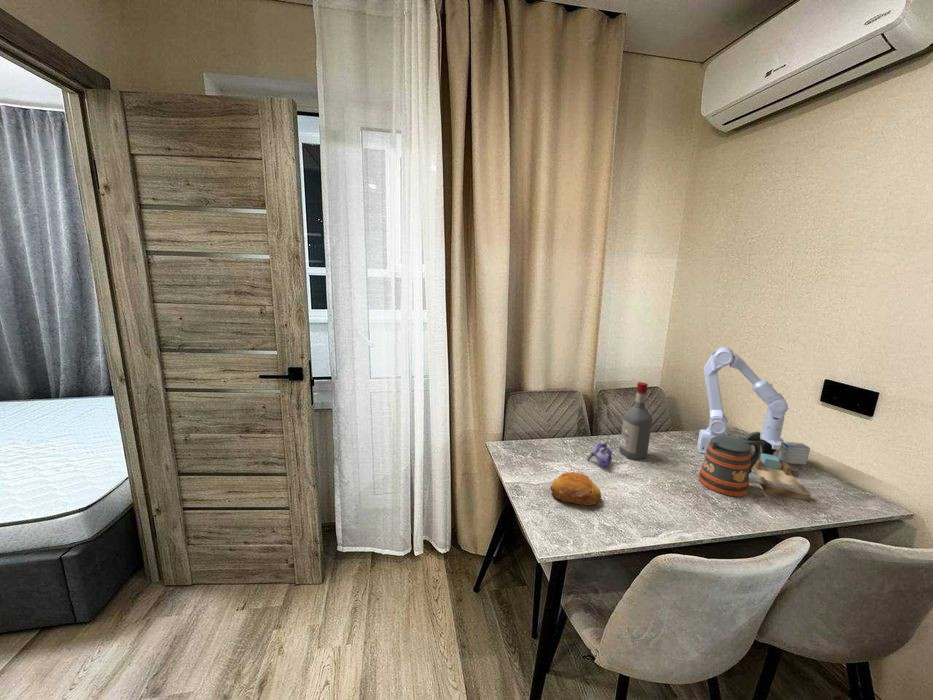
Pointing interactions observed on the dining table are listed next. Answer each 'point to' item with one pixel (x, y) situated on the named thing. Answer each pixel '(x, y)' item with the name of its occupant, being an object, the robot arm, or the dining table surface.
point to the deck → (780, 481)
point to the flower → (602, 455)
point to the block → (770, 461)
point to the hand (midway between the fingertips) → (765, 459)
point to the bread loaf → (576, 489)
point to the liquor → (636, 427)
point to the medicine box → (794, 453)
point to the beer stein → (730, 463)
